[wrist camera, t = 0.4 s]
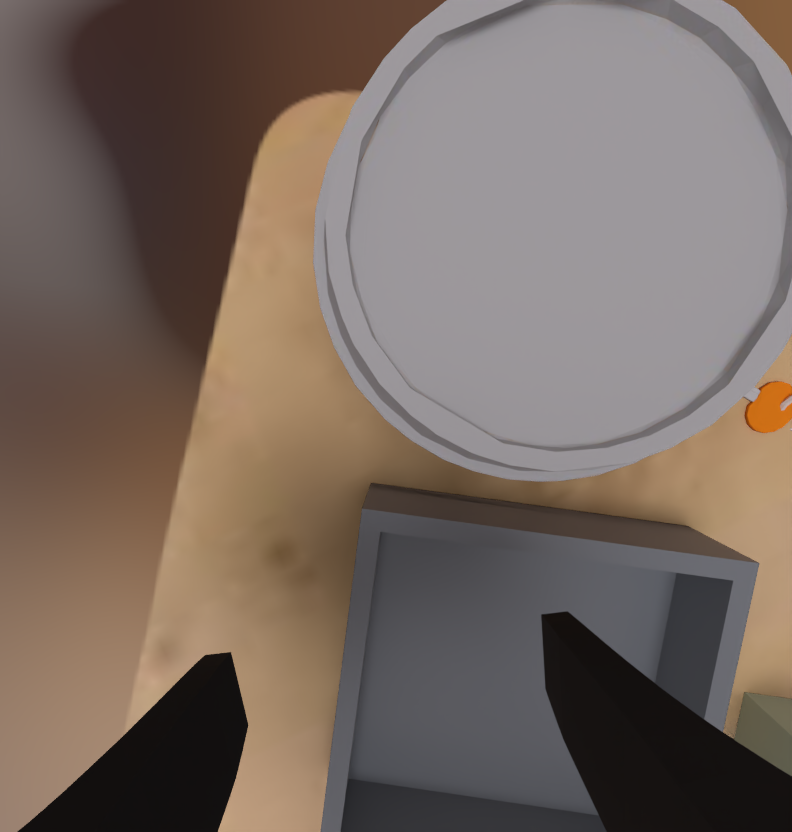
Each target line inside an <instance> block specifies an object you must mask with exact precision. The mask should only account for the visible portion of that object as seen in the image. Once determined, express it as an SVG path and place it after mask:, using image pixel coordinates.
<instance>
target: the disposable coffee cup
mask: <svg viewBox="0 0 792 832" xmlns="http://www.w3.org/2000/svg"><path fill="white" fill-rule="evenodd" d="M313 264H314V270H315V277H316V283H317V290H318V296H319V302H320V308H321V311H322V314H323V317H324V320H325V323H326V325H327V328H328V331H329V334H330V337H331V340H332V342H333V345H334V348H335V350H336V351H337V353H338V355H339V357H340V358H341V360H342V362H343V364H344V366H345V367H346V369H347V371H348V373H349V374H350V376H351V378H352V380H353V382H354V383H355V385H356V387H357V388H358V389H359V390H360V391H361V392H362V393H363V395H364V396H365V397H366V398H367V399H368V400H369V401H370V403H371V404H372V405H373V406H374V407H375V408H376V409H377V411H378V412H379V413H380V414H381V415H382V416H383V417H384V419H385V420H387V421H388V422H389V423H390V424H392V425H393V426H394V427H395V428H396V429H398V430H399V431H400V432H401V433H402V434H404V435H405V436H406V437H407V438H409V439H410V440H411V441H413V442H415V443H416V444H418V445H420V446H421V447H423V448H425V449H426V450H428V451H430V452H431V453H433V454H435V455H436V456H438V457H440V458H442V459H443V460H446V461H448V462H451V463H453V464H456V465H459V466H461V467H464V468H467V469H469V470H472V471H475V472H479V473H483V474H487V475H491V476H496V477H500V478H504V479H511V480H525V481H539V482H542V481H564V480H571V479H577V478H584V477H590V476H596V475H599V474H603V473H606V472H609V471H612V470H615V469H618V468H621V467H624V466H627V465H630V464H633V463H636V462H638V461H639V460H641V459H643V458H645V457H648V456H650V455H653V454H656V453H658V452H661V451H664V450H667V449H669V448H672V447H673V446H675V445H677V444H679V443H680V442H682V441H684V440H686V439H687V438H689V437H691V436H693V435H695V434H696V433H698V432H700V431H702V430H703V429H705V428H707V427H709V426H711V425H712V424H713V423H714V422H715V421H717V420H718V419H719V418H720V417H721V416H722V415H723V414H724V413H725V412H727V411H728V410H729V409H730V408H731V407H732V406H733V405H734V404H736V403H737V402H738V401H739V400H740V399H741V398H742V397H743V396H744V395H746V394H747V393H748V392H749V391H750V390H751V389H752V388H753V387H754V386H756V384H757V383H758V382H759V380H760V379H761V378H762V377H763V375H764V374H765V373H766V371H767V370H768V369H769V368H770V366H771V365H772V364H773V362H774V361H775V360H776V359H777V357H778V356H779V355H780V353H781V352H782V351H783V349H784V347H785V345H786V344H787V342H788V340H789V338H790V336H791V334H792V75H791V73H790V71H789V68H788V67H787V65H786V63H785V62H784V61H783V60H782V59H781V58H780V57H779V56H778V55H777V54H776V52H775V51H774V50H773V49H772V48H771V47H770V46H769V45H768V44H767V43H766V41H765V40H764V39H763V38H762V37H761V36H760V35H759V34H758V33H757V32H756V31H755V29H754V28H753V27H752V26H751V25H750V24H749V23H748V22H747V21H746V19H745V18H744V17H743V16H742V15H741V14H740V13H739V12H738V11H737V10H736V8H734V7H732V6H730V5H729V4H727V3H725V2H724V1H722V0H447V1H446V2H444V3H443V4H442V5H440V6H439V7H438V8H437V9H435V10H434V11H433V12H432V13H430V14H429V15H428V16H427V17H425V18H424V19H423V20H422V21H420V22H419V23H418V24H417V25H415V26H414V27H413V28H412V29H411V30H410V31H409V32H408V33H407V34H406V35H405V36H404V37H403V38H402V40H401V41H400V42H399V43H398V44H397V45H396V46H395V47H394V48H393V49H392V50H391V51H390V53H389V54H388V55H387V56H386V57H385V58H384V60H383V61H382V63H381V64H380V66H379V67H378V69H377V70H376V72H375V74H374V75H373V76H372V78H371V79H370V81H369V82H368V84H367V86H366V87H365V89H364V90H363V92H362V93H361V95H360V96H359V98H358V99H357V101H356V102H355V104H354V105H353V107H352V110H351V113H350V116H349V118H348V120H347V122H346V124H345V126H344V129H343V131H342V133H341V135H340V137H339V139H338V142H337V144H336V146H335V148H334V150H333V153H332V155H331V157H330V159H329V161H328V164H327V168H326V172H325V176H324V179H323V183H322V187H321V191H320V195H319V199H318V202H317V206H316V211H315V235H314V259H313Z"/></svg>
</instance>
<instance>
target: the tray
mask: <svg viewBox="0 0 792 832" xmlns="http://www.w3.org/2000/svg"><path fill="white" fill-rule="evenodd" d="M758 567H759V563H758V562H756V561H754V560H752V559H750V558H748V557H746V556H744V555H742V554H741V553H739V552H737V551H735V550H733V549H731V548H729V547H727V546H725V545H723V544H721V543H719V542H717V541H716V540H714V539H712V538H710V537H708V536H706V535H704V534H702V533H700V532H698V531H696V530H694V529H692V528H691V527H689V526H683V525H675V524H668V523H661V522H654V521H646V520H639V519H632V518H624V517H617V516H610V515H602V514H595V513H588V512H580V511H573V510H566V509H558V508H551V507H544V506H536V505H529V504H522V503H514V502H507V501H500V500H492V499H485V498H478V497H471V496H463V495H456V494H449V493H441V492H434V491H427V490H419V489H412V488H405V487H397V486H390V485H383V484H375V483H371V485H370V487H369V490H368V493H367V496H366V499H365V502H364V504H363V507H362V513H361V521H360V528H359V536H358V544H357V552H356V560H355V567H354V575H353V583H352V591H351V599H350V607H349V614H348V622H347V630H346V638H345V646H344V653H343V661H342V669H341V677H340V685H339V692H338V700H337V708H336V716H335V724H334V731H333V739H332V747H331V755H330V763H329V771H328V778H327V786H326V794H325V802H324V810H323V817H322V825H321V832H607V831H606V829H605V827H604V825H603V823H602V821H601V819H600V817H599V815H598V812H597V810H596V808H595V806H594V804H593V802H592V800H591V798H590V796H589V793H588V791H587V789H586V787H585V785H584V783H583V781H582V779H581V776H580V774H579V772H578V770H577V768H576V766H575V764H574V762H573V759H572V757H571V755H570V753H569V751H568V749H567V746H566V744H565V742H564V740H563V737H562V734H561V732H560V729H559V726H558V724H557V721H556V718H555V715H554V712H553V710H552V707H551V704H550V701H549V698H548V695H547V692H546V690H545V673H544V656H543V638H542V621H541V614H549V613H557V612H565V611H568V612H569V613H570V614H572V615H573V616H574V617H575V618H576V619H578V620H579V621H580V622H581V623H582V624H584V625H585V626H586V627H587V628H588V629H589V630H591V631H592V632H593V633H594V634H595V635H596V636H598V637H599V638H600V639H601V640H602V641H604V642H605V643H606V644H607V645H608V646H610V647H611V648H612V649H613V650H614V651H616V652H617V653H618V654H619V655H620V656H622V657H623V658H624V659H625V660H626V661H628V662H629V663H630V664H631V665H633V666H634V667H635V668H636V669H638V670H639V671H640V672H642V673H643V674H644V675H645V676H647V677H648V678H649V679H650V680H652V681H653V682H654V683H655V684H657V685H658V686H659V687H661V688H662V689H663V690H664V691H666V692H667V693H668V694H670V695H671V696H672V697H674V698H675V699H677V700H678V701H679V702H681V703H682V704H684V705H685V706H686V707H688V708H689V709H690V710H692V711H693V712H695V713H696V714H697V715H699V716H700V717H702V718H703V719H704V720H706V721H707V722H709V723H710V724H711V725H713V726H714V727H716V728H717V729H719V730H720V731H722V732H723V729H724V724H725V720H726V715H727V710H728V706H729V701H730V696H731V692H732V687H733V683H734V678H735V673H736V669H737V664H738V659H739V655H740V650H741V646H742V641H743V636H744V632H745V627H746V622H747V618H748V613H749V608H750V604H751V599H752V595H753V590H754V585H755V581H756V576H757V571H758Z"/></svg>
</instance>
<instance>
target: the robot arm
mask: <svg viewBox="0 0 792 832" xmlns="http://www.w3.org/2000/svg"><path fill="white" fill-rule="evenodd" d="M541 621H542V638H543V656H544V673H545V690H546V692H547V695H548V698H549V701H550V704H551V707H552V710H553V712H554V715H555V718H556V721H557V724H558V726H559V729H560V732H561V734H562V737H563V740H564V742H565V744H566V746H567V749H568V751H569V753H570V755H571V757H572V759H573V762H574V764H575V766H576V768H577V770H578V772H579V774H580V776H581V779H582V781H583V783H584V785H585V787H586V789H587V791H588V793H589V796H590V798H591V800H592V802H593V804H594V806H595V808H596V810H597V812H598V815H599V817H600V819H601V821H602V823H603V825H604V827H605V829H606V831H607V832H792V776H791V775H789V774H787V773H786V772H784V771H782V770H781V769H779V768H777V767H776V766H774V765H773V764H771V763H770V762H768V761H766V760H765V759H763V758H762V757H760V756H759V755H757V754H756V753H754V752H752V751H751V750H749V749H748V748H746V747H745V746H743V745H742V744H740V743H738V742H737V741H735V740H734V739H732V738H731V737H729V736H728V735H726V734H725V733H723V732H722V731H720V730H719V729H717V728H716V727H714V726H713V725H711V724H710V723H709V722H707V721H706V720H704V719H703V718H702V717H700V716H699V715H697V714H696V713H695V712H693V711H692V710H690V709H689V708H688V707H686V706H685V705H684V704H682V703H681V702H679V701H678V700H677V699H675V698H674V697H672V696H671V695H670V694H668V693H667V692H666V691H664V690H663V689H662V688H661V687H659V686H658V685H657V684H655V683H654V682H653V681H652V680H650V679H649V678H648V677H647V676H645V675H644V674H643V673H642V672H640V671H639V670H638V669H636V668H635V667H634V666H633V665H631V664H630V663H629V662H628V661H626V660H625V659H624V658H623V657H622V656H620V655H619V654H618V653H617V652H616V651H614V650H613V649H612V648H611V647H610V646H608V645H607V644H606V643H605V642H604V641H602V640H601V639H600V638H599V637H598V636H596V635H595V634H594V633H593V632H592V631H591V630H589V629H588V628H587V627H586V626H585V625H584V624H582V623H581V622H580V621H579V620H578V619H576V618H575V617H574V616H573V615H572V614H570V613H569V612H568V611H565V612H557V613H549V614H541ZM247 728H248V722H247V718H246V714H245V709H244V705H243V701H242V697H241V693H240V688H239V684H238V680H237V676H236V671H235V667H234V663H233V659H232V655H231V652H228V653H220V654H211V655H205V656H204V657H203V658H201V659H200V660H199V661H198V662H197V663H196V664H195V665H194V666H193V667H192V668H191V669H190V670H189V671H188V672H187V673H186V674H185V675H184V676H183V677H182V678H181V679H180V680H179V681H178V682H177V683H176V684H175V685H174V686H173V687H172V688H171V689H170V690H169V691H168V692H167V693H166V694H165V695H164V696H163V697H162V698H161V699H160V700H159V701H158V702H157V703H156V704H155V705H154V706H153V707H152V708H151V709H150V710H149V711H148V712H147V713H146V714H145V715H144V716H143V717H142V718H141V719H140V720H139V721H138V722H137V723H136V724H135V725H134V726H133V727H132V728H131V729H130V730H129V731H128V732H127V733H126V734H125V735H124V736H123V737H122V738H121V739H120V740H119V741H118V742H117V743H116V744H114V745H113V746H112V747H111V748H110V749H109V750H108V751H107V752H106V753H105V754H104V755H103V756H102V757H101V758H99V759H98V761H96V762H95V763H94V764H93V765H92V766H91V767H90V768H89V769H88V770H87V771H86V772H85V773H83V775H81V776H80V777H79V778H78V779H77V780H76V781H75V782H74V783H73V784H72V785H71V786H69V787H68V788H67V790H65V791H64V792H63V793H62V794H61V795H60V796H59V797H58V798H56V799H55V800H54V801H53V802H52V803H51V804H49V805H48V806H47V807H46V808H45V809H44V810H43V811H42V812H40V813H39V814H38V815H37V816H36V817H35V818H34V819H32V820H31V821H30V822H29V823H28V824H26V825H25V826H24V827H23V828H22V829H20V830H19V831H18V832H218V829H219V826H220V823H221V820H222V818H223V815H224V812H225V809H226V806H227V803H228V800H229V797H230V794H231V791H232V788H233V785H234V782H235V779H236V775H237V771H238V767H239V763H240V759H241V755H242V751H243V746H244V742H245V737H246V733H247Z"/></svg>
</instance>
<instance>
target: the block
mask: <svg viewBox="0 0 792 832" xmlns="http://www.w3.org/2000/svg"><path fill="white" fill-rule="evenodd" d="M734 740H735V741H737V742H738V743H740V744H742V745H743V746H745V747H746V748H748V749H749V750H751V751H752V752H754V753H756V754H757V755H759V756H760V757H762V758H763V759H765V760H766V761H768V762H770V763H771V764H773V765H774V766H776V767H777V768H779V769H781V770H782V771H784V772H786V773H787V774H789V775H791V776H792V699H789V698H782V697H775V696H768V695H761V694H754V693H747V692H744V697H743V702H742V706H741V711H740V715H739V720H738V724H737V729H736V734H735V738H734Z"/></svg>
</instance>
